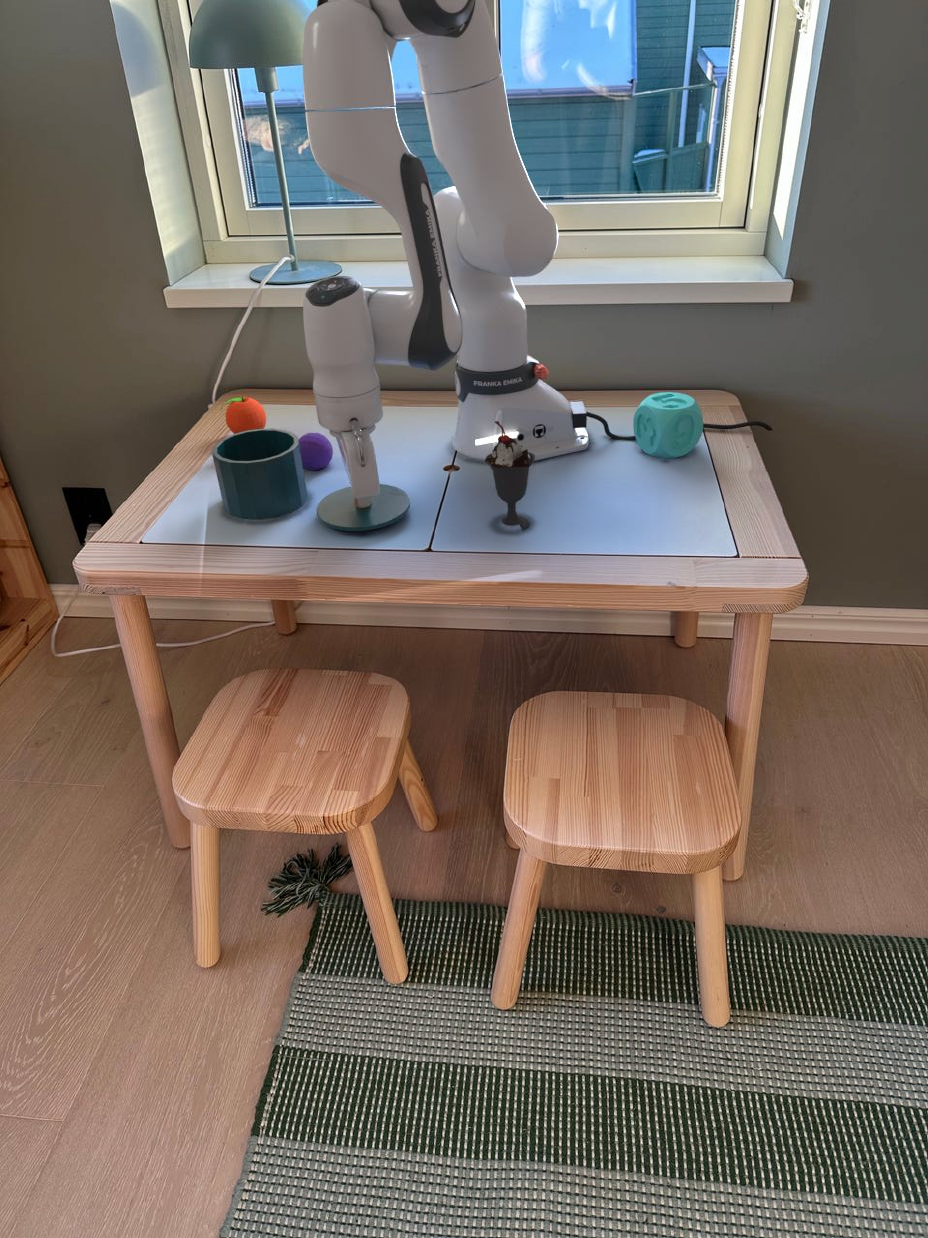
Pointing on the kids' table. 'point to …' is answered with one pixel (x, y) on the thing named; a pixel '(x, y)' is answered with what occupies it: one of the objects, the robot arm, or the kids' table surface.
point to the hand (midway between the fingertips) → (362, 498)
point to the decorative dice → (668, 424)
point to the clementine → (245, 415)
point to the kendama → (315, 451)
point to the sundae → (510, 475)
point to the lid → (363, 509)
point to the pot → (260, 473)
